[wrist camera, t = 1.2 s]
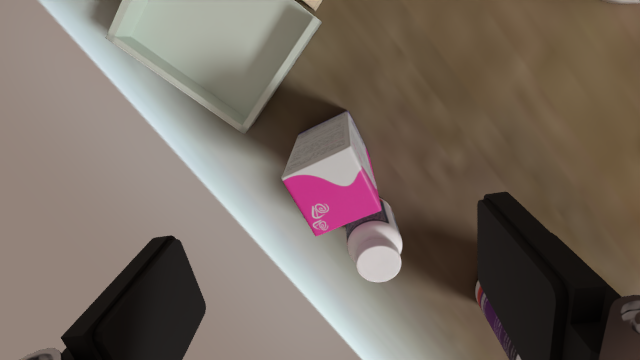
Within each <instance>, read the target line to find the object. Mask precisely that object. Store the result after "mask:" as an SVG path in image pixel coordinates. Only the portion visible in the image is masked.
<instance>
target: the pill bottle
mask: <svg viewBox="0 0 640 360" xmlns="http://www.w3.org/2000/svg"><path fill="white" fill-rule="evenodd" d="M379 200H380V204H381V211H379V212H376V213H374V214H371V215H369V216H366V217H363V218H361V219H358V220H356V221H353V222H350V223H348V224H346V234H347V247H348V252H349V254H350V256H351V258H352V259H353V261H354V262H356V267H357V270H358V272H359V274H360V275H361V276H362V277H363V278H365V279H366V280H369V281H372V282H384V281H388V280H390V279H392V278H393V277H395V276H396V275H397V274H398V272H399V270H400V268H401V257H400V254H401V251H402V239H401V235H400V232H399V229H398V226H397V224H396V220H395V218H394V214H393V212H392V209H391V207H390V206H389V204H388V203H387V202H386V201H385V200H383V199H382V198H379Z"/></svg>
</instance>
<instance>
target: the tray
mask: <svg viewBox="0 0 640 360" xmlns="http://www.w3.org/2000/svg"><path fill="white" fill-rule="evenodd" d="M321 23H322V22H321V21H320V20H319V19H317V18H316V17H315V16H313V15H312V14H311V13H310V12H308V11H307V10H306V9H305V8H303V7H302V6H301V5H300V4H299V3H297V2H296V1H295V0H122V2H121V4H120V6H119V9H118V11H117V13H116V15H115V18H114V20H113V22H112V24H111V27H110V29H109V31H108V34H107V36H106V39H108V40H109V41H111V42H112V43H114V44H115V45H116V46H118V47H119V48H121V49H122V50H124V51H125V52H127V53H128V54H129V55H131V56H132V57H134V58H135V59H137V60H138V61H139V62H141V63H142V64H144V65H145V66H147V67H148V68H149V69H151V70H152V71H154V72H155V73H157V74H158V75H160V76H161V77H162V78H164V79H165V80H167V81H168V82H170V83H171V84H172V85H174V86H175V87H177V88H178V89H180V90H181V91H182V92H184V93H185V94H187V95H188V96H190V97H191V98H193V99H194V100H195V101H197V102H198V103H200V104H201V105H203V106H204V107H205V108H207V109H208V110H210V111H211V112H213V113H214V114H216V115H217V116H218V117H220V118H221V119H223V120H224V121H226V122H227V123H228V124H230V125H231V126H233V127H234V128H236V129H237V130H238V131H240V132H241V133H243V134H245V133H246V132H247V131H248V130H249V129H250V128H251V127H252V125H253V124H254V122H255V121H256V119H257V118H258V116H259V115H260V113H261V112H262V110H263V109H264V107H265V106H266V104H267V103H268V101H269V100H270V99H271V97H272V96H273V94H274V93H275V91H276V90H277V88H278V87H279V85H280V84H281V82H282V81H283V79H284V78H285V76H286V75H287V73H288V72H289V70H290V69H291V67H292V66H293V64H294V63H295V61H296V60H297V58H298V57H299V55H300V54H301V53H302V51H303V50H304V48H305V47H306V45H307V44H308V42H309V41H310V39H311V38H312V36H313V35H314V33H315V32H316V30H317V29H318V27H319V26H320V24H321Z"/></svg>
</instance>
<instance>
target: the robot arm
mask: <svg viewBox="0 0 640 360" xmlns="http://www.w3.org/2000/svg"><path fill="white" fill-rule="evenodd" d="M601 1H604V2H607V3H613V4H634V3H640V0H601ZM478 280H479V283H480V286H481V288H482V290H483V292H484V293H485V295H486V297H487V299H488V301H489V303H490V304H491V306H492V308H493V310H494V312H495V313H496V315H497V317H498V319H499V321H500V322H501V324H502V326H503V328H504V330H505V331H506V333H507V335H508V337H509V339H510V340H511V342H512V344H513V346H514V348H515V349H516V351H517V353H518V355H519V357H520V358H521V360H640V295H630V296H623V297H621V296H620V295H619V294H618V293H617V292H616V291H615V290H614V289H613V288H612V287H610V286H609V285H608V284H607V283H606V282H605V281H604V280H603V279H602V278H601V277H600V276H599V275H598V274H597V273H595V272H594V271H593V270H592V269H591V268H590V267H589V266H588V265H587V264H586V263H585V262H584V261H583V260H582V259H580V258H579V257H578V256H577V255H576V254H575V253H574V252H573V251H572V250H571V249H570V248H569V247H568V246H567V245H565V244H564V243H563V242H562V241H561V240H560V239H559V238H558V237H557V236H556V235H554V234H553V233H551V232H549V231H548V230H547V229H546V228H545V227H544V226H543V225H542V224H541V223H540V222H539V221H538V220H537V219H536V218H535V217H534V216H533V215H531V214H530V213H529V212H528V211H527V210H526V209H525V208H524V207H523V206H522V205H521V204H520V203H519V202H518V201H517V200H516V199H514V198H513V197H512V196H511V195H510V194H509V193H508V192H500V193H493V194H486V195H485V196H484V199H483V200H479V201H478ZM205 310H206V305H205V301H204V299H203V296H202V293H201V291H200V288H199V286H198V283H197V281H196V278H195V276H194V274H193V271H192V268H191V266H190V264H189V261H188V258H187V256H186V253H185V251H184V249H183V246H182V244H181V242H180V240H178V239H176V238H175V237H173V236H164V237H156V238H153V239H152V240H151V241H150V242H149V243H148V244H147V245H146V246H145V247H144V248H143V249H142V250H141V251H140V253H139V254H138V255H137V256H136V257H135V258H134V259H133V260H132V261H131V262H130V263H129V265H127V267H126V268H125V269H124V270H123V271H122V272H121V273H120V274H119V275H118V276H117V277H116V278H115V280H114V281H113V282H112V283H111V284H110V285H109V286H108V287H107V288H106V289H105V290H104V291H103V292H102V293H101V295H100V296H99V297H98V298H97V299H96V300H95V301H94V302H93V303H92V304H91V305H90V306H89V308H88V309H87V310H86V311H85V312H84V313H83V314H82V315H81V316H80V317H79V318H78V319H77V320H76V322H75V323H74V324H73V325H72V326H71V327H70V328H69V329H68V330H67V331H66V332H65V333H64V335H63V336H62V337H61V339H62V340H63V342H64V344H65V345H66V347H67V348H66V349H65V350H64V351H63V353H61V352H60V351H59V350H57V349H55V348H47V349H43V350H39V351H36V352H34V353H32V354H29V355H27V356H25V357H24V358H22V359H20V360H182V359H183V357H184V355H185V353H186V351H187V349H188V347H189V345H190V343H191V341H192V339H193V337H194V335H195V333H196V330H197V329H198V326H199V325H200V323H201V320H202V318H203V316H204V314H205Z"/></svg>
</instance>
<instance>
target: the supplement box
mask: <svg viewBox="0 0 640 360" xmlns="http://www.w3.org/2000/svg"><path fill="white" fill-rule="evenodd" d="M281 179H282V181H283V182H284V184H285V186H286V188H287V189H288V191H289V193H290V194H291V196H292V198H293V199H294V201H295V203H296V204H297V206H298V208H299V209H300V211H301V213H302V214H303V216H304V218H305V219H306V221H307V223H308V224H309V226H310V228H311V229H312V231H313V233H314V234H315V236H318V235H321V234H324V233H326V232H329V231H331V230H333V229H336V228H338V227H340V226H343V225H345V224H348V223H350V222H353V221H356V220H358V219H361V218H363V217H366V216H369V215H371V214H374V213H376V212H379V211H381V204H380V200H379V195H378V191H377V187H376V183H375V178H374V174H373V170H372V165H371V161H370V156H369V153H368V151H367V149H366V147H365V144H364V142H363V140H362V138H361V136H360V134H359V132H358V130H357V127H356V125H355V123H354V121H353V119H352V117H351V115H350V113H349V111H345V112H343V113H341V114H339V115H337V116H335V117H333V118H331V119H329V120H326V121H324V122H322V123H320V124H318V125H316V126H314V127H312V128H310V129H308V130H306V131H303V132H301V133H300V134H298V137H297V139H296V142H295V145H294V147H293V150H292V152H291V155H290V157H289V160H288V162H287V165H286V168H285V170H284V173H283V175H282V177H281Z"/></svg>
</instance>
